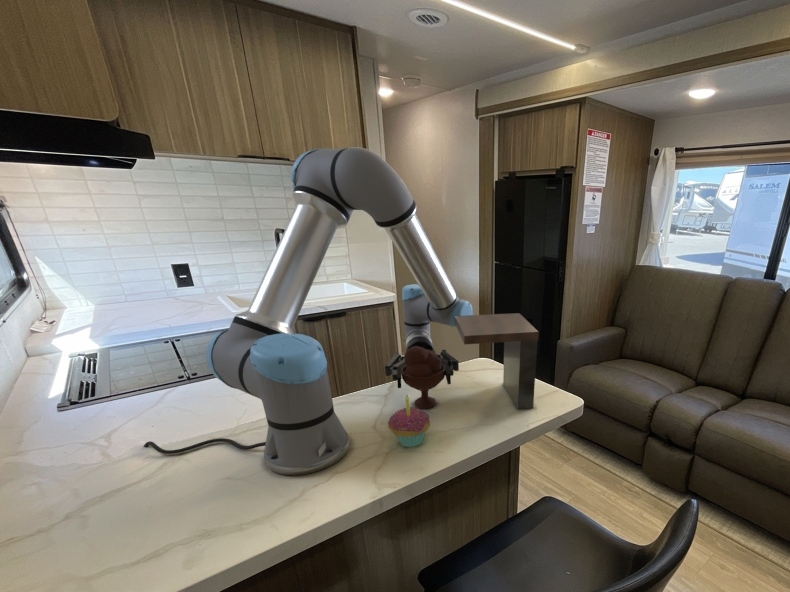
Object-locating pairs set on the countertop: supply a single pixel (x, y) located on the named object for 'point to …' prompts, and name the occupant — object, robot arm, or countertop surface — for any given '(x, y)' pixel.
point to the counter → (507, 349)
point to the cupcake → (409, 425)
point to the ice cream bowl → (422, 373)
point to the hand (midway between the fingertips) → (424, 381)
